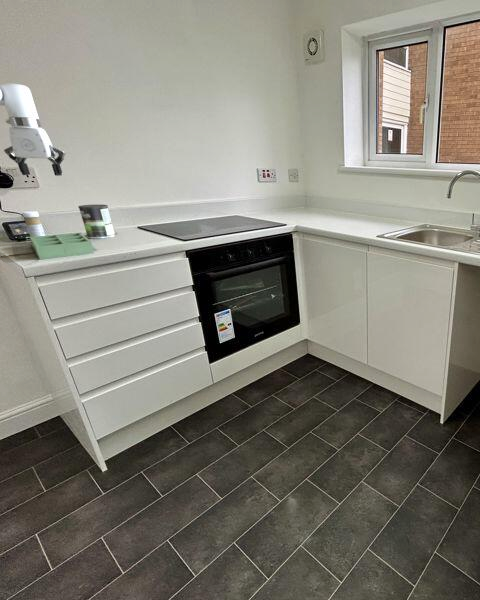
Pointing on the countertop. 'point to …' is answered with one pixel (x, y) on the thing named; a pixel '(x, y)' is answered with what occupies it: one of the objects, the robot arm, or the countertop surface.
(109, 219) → the coffee can
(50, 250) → the grid tray
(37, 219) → the sprinkles bottle
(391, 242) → the countertop surface
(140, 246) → the countertop surface
